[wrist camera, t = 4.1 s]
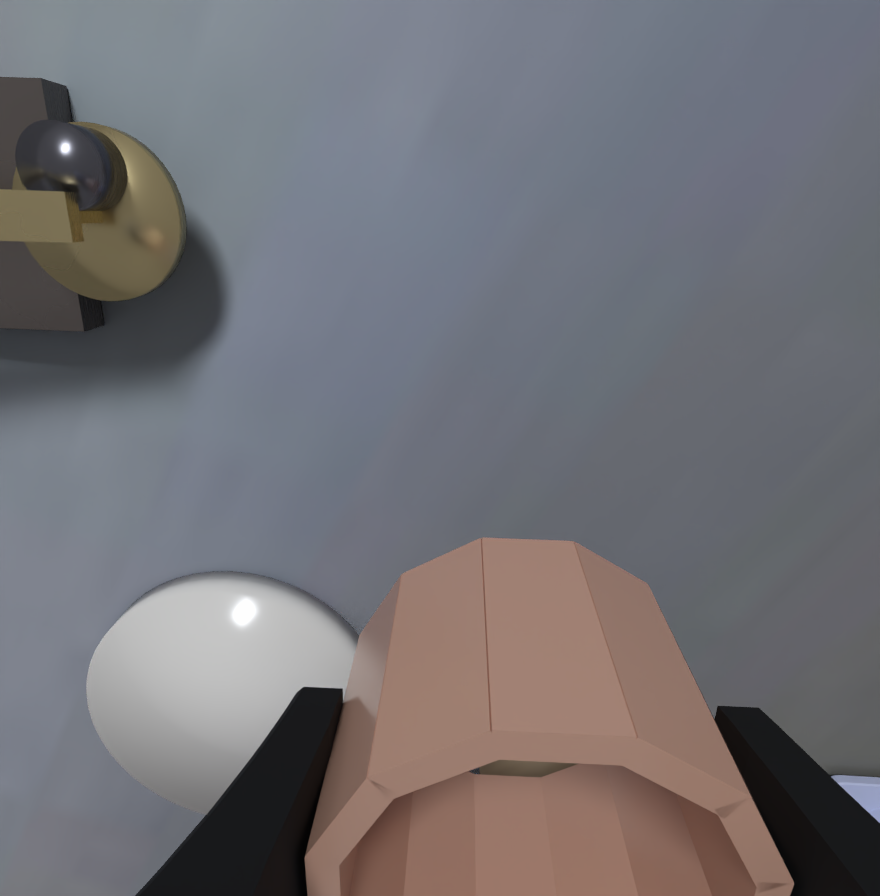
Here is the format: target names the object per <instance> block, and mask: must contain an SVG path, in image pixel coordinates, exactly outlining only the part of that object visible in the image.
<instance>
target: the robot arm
mask: <svg viewBox="0 0 880 896" xmlns="http://www.w3.org/2000/svg"><path fill="white" fill-rule="evenodd" d="M342 706H343V689H342V688H320V687H303V688H302V689H300V690H299V691H298V692H297V693H296V694H295V696H294V697H293V699H292V700H291V702H290V703H289V705H288V706H287V708H286V709H285V711H284V712H283V714H282V715H281V717H280V718H279V720H278V721H277V723H276V724H275V725H274V727H273V728H272V730H271V731H270V733H269V734H268V735H267V737H266V738H265V739H264V741H263V742H262V744H261V745H260V746H259V748H258V749H257V750H256V752H255V753H254V754H253V756H252V757H251V758H250V760H249V761H248V763H247V764H246V765H245V766H244V768H243V769H242V770H241V771H240V773H239V774H238V775H237V777H236V778H235V779H234V780H233V782H232V783H231V784H230V786H229V787H228V788H227V789H226V791H225V792H224V793H223V794H222V796H221V797H220V798H219V800H218V801H217V802H216V803H215V805H214V806H213V807H212V808H211V810H210V811H209V812H208V813H207V814H206V816H205V817H204V818H203V819H202V820H201V822H200V823H199V824H198V825H197V826H196V827H195V829H194V830H193V831H192V832H191V833H190V834H189V836H188V837H187V838H186V839H185V840H184V841H183V843H182V844H181V845H180V846H179V847H178V848H177V850H176V851H175V852H174V853H173V854H172V855H171V857H170V858H169V859H168V860H167V861H166V862H165V864H164V865H163V866H162V867H161V868H160V869H159V870H158V871H157V873H156V874H155V875H154V876H153V877H152V878H151V879H150V880H149V881H148V882H147V884H146V885H145V886H144V887H143V888H142V889H141V890H140V891H139V892H138V893H137V894H136V896H308V895H307V882H306V870H305V854H306V850H307V846H308V842H309V838H310V834H311V830H312V826H313V821H314V817H315V813H316V809H317V805H318V801H319V797H320V793H321V789H322V785H323V781H324V777H325V773H326V769H327V765H328V762H329V758H330V755H331V751H332V746H333V742H334V738H335V734H336V730H337V726H338V722H339V718H340V714H341V710H342ZM715 721H716V723H717V726H718V728H719V730H720V732H721V734H722V736H723V738H724V740H725V742H726V744H727V746H728V748H729V750H730V752H731V754H732V756H733V758H734V760H735V762H736V764H737V767H738V769H739V771H740V773H741V775H742V777H743V779H744V781H745V783H746V785H747V787H748V789H749V791H750V793H751V795H752V797H753V799H754V801H755V803H756V805H757V808H758V810H759V812H760V814H761V816H762V818H763V820H764V822H765V824H766V826H767V828H768V830H769V832H770V834H771V836H772V838H773V840H774V842H775V844H776V847H777V849H778V851H779V853H780V855H781V857H782V859H783V861H784V863H785V865H786V867H787V869H788V871H789V873H790V875H791V877H792V879H793V881H794V886H793V889H792V892H791V895H790V896H880V777H864V776H847V775H833V776H830V775H829V774H828V773H826V772H825V771H824V770H823V769H822V768H821V767H820V766H819V765H818V764H817V763H816V762H815V761H814V760H813V759H812V758H811V757H810V756H809V755H808V754H807V753H806V752H805V751H804V750H803V749H802V748H801V747H800V746H798V745H797V744H796V743H795V742H794V741H793V740H792V739H791V738H790V737H789V736H788V735H787V734H786V733H785V732H784V731H783V730H782V729H781V728H780V727H779V726H778V725H777V724H776V723H774V722H773V721H772V720H771V719H770V718H769V717H768V716H767V715H766V714H765V713H764V712H763V711H762V710H760V709H759V708H751V707H730V706H718V707H717V712H716V716H715Z"/></svg>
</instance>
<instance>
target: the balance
mask: <svg viewBox="0 0 880 896" xmlns="http://www.w3.org/2000/svg"><path fill="white" fill-rule="evenodd" d="M185 241H186V216H185V210H184V205H183V202H182V198H181V195H180V193H179V190H178V188H177V185H176V183H175V182H174V180H173V178H172V176H171V174H170V173H169V171H168V170H167V168H166V167H165V166H164V164H163V163H162V162H161V161H160V159H159V158H158V157H157V156H156V155H155V154H154V153H153V152H152V151H151V150H150V149H149V148H148V147H147V146H145V145H144V144H143V143H141V142H140V141H138V140H137V139H136V138H134V137H132V136H130V135H128V134H127V133H125V132H122V131H120V130H117V129H115V128H111V127H107V126H103V125H99V124H95V123H88V122H72V119H71V112H70V106H69V100H68V94H67V87H66V86H64V85H61V84H58V83H54V82H51V81H48V80H45V79H42V78H16V77H0V328H11V329H35V330H58V331H82V332H84V331H88V330H91V329H94V328H97V327H100V326H104V320H103V314H102V307H101V301H100V300H103V301H122V300H128V299H132V298H136V297H139V296H142V295H145V294H148V293H150V292H152V291H154V290H155V289H157V288H158V287H160V286H161V285H162V284H163V283H164V282H165V281H166V280H167V279H168V278H169V277H170V276H171V275H172V273H173V272H174V271H175V269H176V267H177V265H178V264H179V262H180V259H181V257H182V254H183V251H184V246H185Z"/></svg>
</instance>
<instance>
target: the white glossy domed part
mask: <svg viewBox="0 0 880 896" xmlns="http://www.w3.org/2000/svg"><path fill="white" fill-rule="evenodd" d="M358 639H359V635H358V634H357V633H356V631H355V630H354V629H353V628H352V627H351V626H350V625H349V624H348V623H347V622H346V621H345V620H344V619H343V618H342V617H341V616H340V615H339V614H338V613H337V612H336V611H334V610H333V609H332V608H330V607H329V606H328V605H327V604H325V603H324V602H322V601H321V600H319V599H317V598H316V597H314V596H312V595H311V594H309V593H307V592H305V591H303V590H301V589H299V588H297V587H295V586H292V585H290V584H287V583H285V582H282V581H279V580H276V579H273V578H269V577H265V576H260V575H256V574H251V573H242V572H233V571H212V572H204V573H196V574H191V575H187V576H183V577H179V578H176V579H173V580H171V581H168V582H166V583H163V584H160V585H159V586H157V587H155V588H153V589H152V590H150V591H148V592H146V593H145V594H144V595H142V596H141V597H140V598H139V599H137V600H136V601H135V602H134V603H133V604H132V605H131V606H130V607H129V608H128V609H127V610H126V611H125V613H124V614H123V615H122V616H121V617H120V618H119V619H118V621H117V622H116V623H115V624H114V625H113V626H112V628H111V629H110V630H109V631H108V632H107V633H106V635H105V636H104V637H103V639H102V640H101V642H100V643H99V645H98V647H97V648H96V650H95V652H94V655H93V657H92V660H91V662H90V666H89V670H88V675H87V690H86V693H87V701H88V708H89V711H90V715H91V718H92V722H93V724H94V726H95V728H96V731H97V733H98V735H99V737H100V739H101V740H102V742H103V743H104V745H105V747H106V748H107V750H108V751H109V752H110V754H111V755H112V756H113V757H114V759H115V760H116V761H117V762H118V763H119V764H120V765H121V766H122V767H123V768H124V769H125V770H126V771H127V772H128V773H129V774H130V775H131V776H132V777H133V778H135V779H136V780H137V781H138V782H140V783H141V784H142V785H143V786H145V787H146V788H148V789H150V790H151V791H153V792H154V793H156V794H157V795H159V796H161V797H163V798H165V799H167V800H168V801H170V802H172V803H174V804H177V805H179V806H182V807H184V808H187V809H189V810H191V811H195V812H198V813H201V814H205V815H206V814H207V813H208V812H209V811H210V810H211V808H212V807H213V806H214V805H215V803H216V802H217V801H218V800H219V798H220V797H221V796H222V794H223V793H224V792H225V791H226V789H227V788H228V787H229V786H230V784H231V783H232V782H233V780H234V779H235V778H236V777H237V775H238V774H239V773H240V771H241V770H242V769H243V768H244V766H245V765H246V764H247V763H248V761H249V760H250V758H251V757H252V756H253V754H254V753H255V752H256V750H257V749H258V748H259V746H260V745H261V744H262V742H263V741H264V739H265V738H266V737H267V735H268V734H269V733H270V731H271V730H272V728H273V727H274V725H275V724H276V723H277V721H278V720H279V718H280V717H281V715H282V714H283V712H284V711H285V709H286V708H287V706H288V705H289V703H290V702H291V700H292V699H293V697H294V696H295V694H296V693H297V692H298V691H299V690H300V689H302V688H303V687H320V688H342V689H343V700H344V696H345V692H346V688H347V683H348V679H349V675H350V671H351V667H352V663H353V659H354V655H355V651H356V647H357V643H358Z"/></svg>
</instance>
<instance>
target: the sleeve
mask: <svg viewBox="0 0 880 896" xmlns="http://www.w3.org/2000/svg"><path fill="white" fill-rule="evenodd" d="M497 760H516V761H537V762H557V763H578V764H577V765H574V766H571V767H568V768H566V769H563V770H560V771H557V772H555V773H552V774H549V775H546V776H543V777H522V776H502V775H481V774H473V773H471V772H469V771H470V770H473V769H475V768H478V767H481V766H483V765H486V764H489V763H491V762H494V761H497ZM305 870H306V882H307V895H308V896H790V895H791V892H792V889H793V886H794V881H793V879H792V877H791V875H790V873H789V871H788V869H787V867H786V865H785V863H784V861H783V859H782V857H781V855H780V853H779V851H778V849H777V847H776V844H775V842H774V840H773V838H772V836H771V834H770V832H769V830H768V828H767V826H766V824H765V822H764V820H763V818H762V816H761V814H760V812H759V810H758V808H757V805H756V803H755V801H754V799H753V797H752V795H751V793H750V791H749V789H748V787H747V785H746V783H745V781H744V779H743V777H742V775H741V773H740V771H739V769H738V767H737V764H736V762H735V760H734V758H733V756H732V754H731V752H730V750H729V748H728V746H727V744H726V742H725V740H724V738H723V736H722V734H721V732H720V730H719V728H718V726H717V723H716V721H715V719H714V717H713V715H712V713H711V711H710V709H709V707H708V705H707V703H706V701H705V699H704V697H703V695H702V693H701V691H700V689H699V686H698V684H697V682H696V680H695V678H694V676H693V674H692V672H691V670H690V668H689V666H688V664H687V662H686V660H685V658H684V656H683V654H682V652H681V650H680V648H679V646H678V644H677V642H676V640H675V638H674V636H673V634H672V631H671V629H670V627H669V625H668V623H667V621H666V619H665V617H664V615H663V613H662V611H661V609H660V607H659V605H658V603H657V601H656V599H655V597H654V595H653V593H652V591H651V589H650V587H649V585H648V584H647V583H645V582H644V581H642V580H640V579H639V578H637V577H635V576H633V575H632V574H630V573H628V572H626V571H625V570H623V569H621V568H619V567H618V566H616V565H614V564H613V563H611V562H609V561H607V560H606V559H604V558H602V557H600V556H599V555H597V554H595V553H593V552H592V551H590V550H588V549H587V548H585V547H583V546H581V545H580V544H578V543H576V542H573V541H557V540H531V539H506V538H482V539H481V538H479V539H477V540H475V541H473V542H470V543H468V544H466V545H464V546H462V547H459V548H457V549H455V550H453V551H451V552H448V553H446V554H444V555H442V556H440V557H438V558H435V559H433V560H431V561H429V562H427V563H424V564H422V565H420V566H418V567H416V568H413V569H411V570H409V571H407V572H405V573H402V574H401V576H400V577H399V579H398V580H397V581H396V583H395V584H394V586H393V587H392V589H391V590H390V592H389V593H388V594H387V596H386V597H385V599H384V600H383V602H382V603H381V605H380V606H379V607H378V609H377V610H376V612H375V613H374V615H373V616H372V618H371V619H370V621H369V622H368V623H367V625H366V626H365V628H364V629H363V631H362V632H361V634H360V635H359V639H358V643H357V647H356V651H355V655H354V659H353V663H352V667H351V671H350V675H349V679H348V683H347V688H346V692H345V696H344V700H343V706H342V710H341V714H340V718H339V722H338V726H337V730H336V734H335V738H334V742H333V746H332V751H331V755H330V758H329V762H328V765H327V769H326V773H325V777H324V781H323V785H322V789H321V793H320V797H319V801H318V805H317V809H316V813H315V817H314V821H313V826H312V830H311V834H310V838H309V842H308V846H307V850H306V854H305Z"/></svg>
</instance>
